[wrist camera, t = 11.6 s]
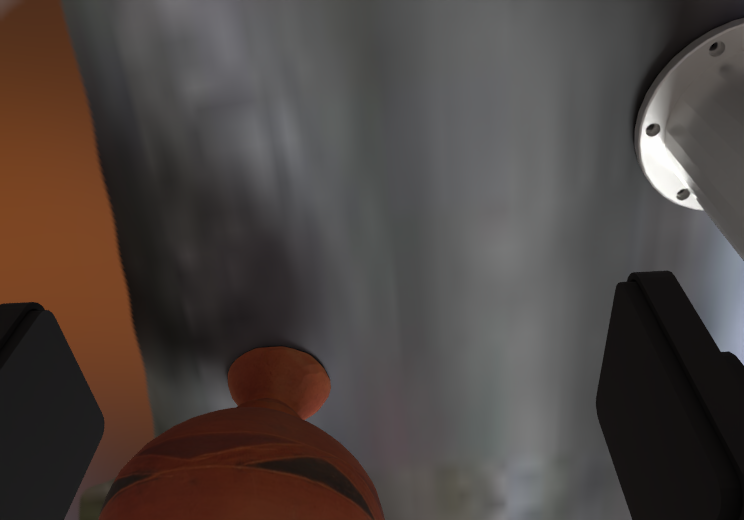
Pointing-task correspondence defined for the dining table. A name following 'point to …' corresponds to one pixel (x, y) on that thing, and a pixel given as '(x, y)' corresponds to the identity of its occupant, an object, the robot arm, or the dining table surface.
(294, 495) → the goblet
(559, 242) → the dining table surface
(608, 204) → the dining table surface
